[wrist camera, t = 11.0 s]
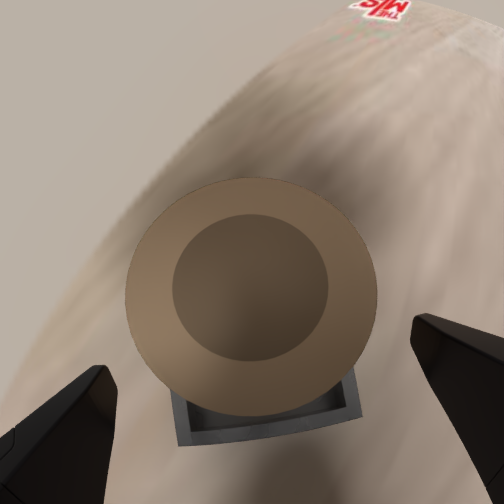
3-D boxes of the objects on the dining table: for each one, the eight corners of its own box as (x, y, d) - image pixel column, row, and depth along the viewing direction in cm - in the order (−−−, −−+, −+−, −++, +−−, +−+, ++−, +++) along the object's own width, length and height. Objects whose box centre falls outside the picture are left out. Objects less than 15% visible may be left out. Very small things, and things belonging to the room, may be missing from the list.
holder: (348, 414, 18) (362, 416, 15) (189, 439, 17) (178, 446, 15) (317, 269, 22) (325, 251, 19) (172, 291, 21) (160, 275, 19)
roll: (317, 324, 20) (393, 213, 8) (287, 415, 17) (337, 448, 6) (228, 296, 21) (187, 157, 9) (194, 383, 18) (88, 352, 7)
